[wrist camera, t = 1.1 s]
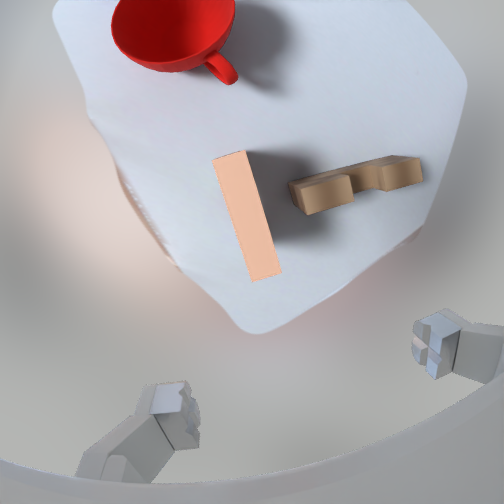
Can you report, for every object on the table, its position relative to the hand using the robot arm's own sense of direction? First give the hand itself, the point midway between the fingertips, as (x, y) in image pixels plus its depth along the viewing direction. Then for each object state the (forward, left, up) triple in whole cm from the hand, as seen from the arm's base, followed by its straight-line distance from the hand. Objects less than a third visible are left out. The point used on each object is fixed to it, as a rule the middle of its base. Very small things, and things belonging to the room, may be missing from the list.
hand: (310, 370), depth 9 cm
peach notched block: (0, -1, -31) cm, 31 cm away
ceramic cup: (-7, -21, -31) cm, 38 cm away
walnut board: (-13, +5, -31) cm, 34 cm away
